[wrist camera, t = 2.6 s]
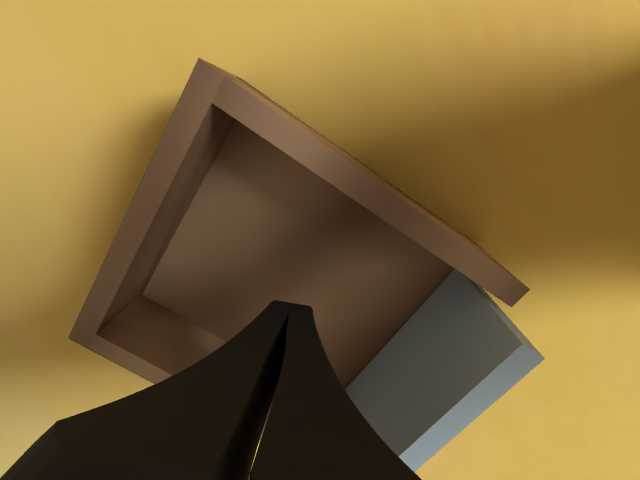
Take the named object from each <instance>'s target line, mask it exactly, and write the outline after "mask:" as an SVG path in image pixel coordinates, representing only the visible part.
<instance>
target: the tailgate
mask: <svg viewBox="0 0 640 480" xmlns="http://www.w3.org/2000/svg"><path fill="white" fill-rule="evenodd" d="M544 359H545V358H544V357H543V356H542V355H541V354H540V353H539V352H538V350H537V349H536V348H535V347H534V346H533V345H532V344H531V343H530V341H529V340H528V339H527V338H526V337H525V336H524V335H523V334H522V332H521V331H520V330H519V329H518V328H517V327H516V326H515V324H514V323H513V322H512V321H511V320H510V319H509V318H508V317H507V315H506V314H505V313H504V312H503V311H502V310H501V309H500V308H499V306H498V305H497V304H496V303H495V302H494V301H493V300H492V299H491V297H490V296H489V295H488V294H487V293H486V292H485V291H484V290H483V288H482V287H481V286H480V285H478V284H477V283H475V282H474V281H472V280H471V279H469V278H468V277H467V276H465V275H464V274H462V273H461V272H459V271H458V270H456V269H454V270H453V271H452V273H451V274H450V275H449V276H448V277H447V278H446V279H445V280H444V281H443V282H442V284H441V285H440V286H439V287H438V288H437V289H436V290H435V291H434V292H433V293H432V295H431V296H430V297H429V298H428V299H427V300H426V301H425V302H424V303H423V304H422V306H421V307H420V308H419V309H418V310H417V311H416V312H415V313H414V314H413V315H412V317H411V318H410V319H409V320H408V321H407V322H406V323H405V324H404V325H403V326H402V328H401V329H400V330H399V331H398V332H397V333H396V334H395V335H394V336H393V337H392V339H391V340H390V341H389V342H388V343H387V344H386V345H385V346H384V347H383V348H382V350H381V351H380V352H379V353H378V354H377V355H376V356H375V357H374V358H373V359H372V361H371V362H370V363H369V364H368V365H367V366H366V367H365V368H364V369H363V370H362V372H361V373H360V374H359V375H358V376H357V377H356V378H355V379H354V380H353V381H352V383H351V384H350V385H349V386H348V387H347V388H346V389H345V391H346V392H347V394H348V395H349V397H350V398H351V400H352V401H353V403H354V404H355V406H356V407H357V408H358V410H359V411H360V412H361V414H362V415H363V416H364V418H365V419H366V420H367V422H368V423H369V424H370V426H371V427H372V428H373V429H374V431H375V432H376V433H377V434H378V435H379V436H380V438H381V439H382V440H383V441H384V442H385V443H386V444H387V446H388V447H389V448H390V449H391V450H392V451H393V452H394V453H395V454H396V455H397V456H398V457H399V458H400V459H401V460H402V461H403V462H404V463H405V464H406V465H407V466H408V467H409V468H410V469H411V470H412V471H413V472H415V471H416V470H417V469H418V468H419V467H421V466H422V465H423V464H424V463H425V462H426V461H428V460H429V459H430V458H431V457H432V456H433V455H434V454H436V453H437V452H438V451H439V450H440V449H441V448H442V447H444V446H445V445H446V444H447V443H448V442H449V441H451V440H452V439H453V438H454V437H455V436H456V435H457V434H459V433H460V432H461V431H462V430H463V429H464V428H465V427H467V426H468V425H469V424H470V423H471V422H472V421H474V420H475V419H476V418H477V417H478V416H479V415H480V414H482V413H483V412H484V411H485V410H486V409H487V408H489V407H490V406H491V405H492V404H493V403H494V402H495V401H497V400H498V399H499V398H500V397H501V396H502V395H503V394H505V393H506V392H507V391H508V390H509V389H510V388H512V387H513V386H514V385H515V384H516V383H517V382H518V381H520V380H521V379H522V378H523V377H524V376H525V375H526V374H528V373H529V372H530V371H531V370H532V369H533V368H535V367H536V366H537V365H538V364H539V363H540V362H541V361H543V360H544Z"/></svg>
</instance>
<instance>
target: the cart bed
mask: <svg viewBox="0 0 640 480" xmlns="http://www.w3.org/2000/svg"><path fill="white" fill-rule="evenodd" d="M454 269H456V270H458V271H459V272H461V273H462V274H464V275H465V276H467V277H468V278H469V279H471V280H472V281H474V282H475V283H477V284H478V285H480V286H481V287H483V288H484V289H486V290H487V291H489V292H490V293H491V294H493V295H494V296H496V297H497V298H499V299H500V300H502V301H503V302H505V303H506V304H508V305H509V306H511V307H512V306H513V305H514V304H515V303H516V302H517V301H518V300H519V299H521V298H522V297H523V296H524V295H525V294H526V293H527V292H528V291H529V290H530V289H529V288H528V287H526V286H525V285H524V284H523V283H522V282H521V281H519V280H518V279H517V278H516V277H515V276H514V275H512V274H511V273H510V272H509V271H508V270H506V269H505V268H504V267H503V266H502V265H501V264H499V263H498V262H497V261H496V260H495V259H494V258H492V257H491V256H490V255H489V254H488V253H487V252H485V251H484V250H483V249H482V248H481V247H479V246H478V245H477V244H475V243H474V242H473V241H471V240H470V239H468V238H467V237H465V236H464V235H463V234H461V233H460V232H458V231H457V230H455V229H454V228H453V227H451V226H450V225H448V224H447V223H446V222H444V221H443V220H441V219H440V218H438V217H437V216H436V215H434V214H433V213H431V212H430V211H428V210H427V209H426V208H424V207H423V206H421V205H420V204H419V203H417V202H416V201H414V200H413V199H411V198H410V197H409V196H407V195H406V194H404V193H403V192H401V191H400V190H399V189H397V188H396V187H394V186H393V185H392V184H390V183H389V182H387V181H386V180H384V179H383V178H382V177H380V176H379V175H377V174H376V173H374V172H373V171H372V170H370V169H369V168H367V167H366V166H365V165H363V164H362V163H360V162H359V161H357V160H356V159H355V158H353V157H352V156H350V155H349V154H347V153H346V152H345V151H343V150H342V149H340V148H339V147H338V146H336V145H335V144H333V143H332V142H330V141H329V140H328V139H326V138H325V137H323V136H322V135H321V134H319V133H318V132H316V131H315V130H313V129H312V128H311V127H309V126H308V125H306V124H305V123H303V122H302V121H301V120H299V119H298V118H296V117H295V116H294V115H292V114H291V113H289V112H288V111H286V110H285V109H284V108H282V107H281V106H279V105H278V104H276V103H275V102H274V101H272V100H271V99H269V98H268V97H267V96H265V95H264V94H262V93H261V92H259V91H258V90H257V89H255V88H254V87H252V86H251V85H249V84H248V83H247V82H245V81H244V80H242V79H241V78H239V77H237V76H235V75H233V74H231V73H229V72H227V71H225V70H223V69H221V68H218V67H216V66H214V65H212V64H210V63H208V62H206V61H204V60H202V59H200V58H198V61H197V63H196V65H195V67H194V69H193V71H192V73H191V76H190V78H189V80H188V82H187V84H186V86H185V89H184V91H183V93H182V95H181V97H180V99H179V101H178V104H177V106H176V108H175V110H174V112H173V114H172V116H171V119H170V121H169V123H168V125H167V127H166V129H165V131H164V134H163V136H162V138H161V140H160V142H159V144H158V146H157V149H156V151H155V153H154V155H153V157H152V159H151V161H150V164H149V166H148V168H147V170H146V172H145V174H144V176H143V179H142V181H141V183H140V185H139V187H138V189H137V192H136V194H135V196H134V198H133V200H132V202H131V204H130V207H129V209H128V211H127V213H126V215H125V217H124V219H123V222H122V224H121V226H120V228H119V230H118V232H117V234H116V237H115V239H114V241H113V243H112V245H111V247H110V249H109V252H108V254H107V256H106V258H105V260H104V262H103V264H102V267H101V269H100V271H99V273H98V275H97V277H96V279H95V282H94V284H93V286H92V288H91V290H90V292H89V294H88V297H87V299H86V301H85V303H84V305H83V307H82V310H81V312H80V314H79V316H78V318H77V320H76V322H75V325H74V327H73V329H72V331H71V333H70V335H69V337H68V338H69V339H71V340H72V341H74V342H76V343H78V344H80V345H82V346H84V347H86V348H88V349H89V350H91V351H93V352H95V353H97V354H99V355H101V356H103V357H105V358H107V359H108V360H110V361H112V362H114V363H116V364H118V365H120V366H122V367H124V368H125V369H127V370H129V371H131V372H133V373H135V374H137V375H139V376H141V377H143V378H144V379H146V380H148V381H150V382H152V383H154V384H157V383H159V382H161V381H163V380H165V379H167V378H169V377H171V376H173V375H175V374H177V373H179V372H180V371H182V370H184V369H186V368H188V367H190V366H192V365H193V364H195V363H197V362H198V361H200V360H201V359H203V358H205V357H206V356H208V355H209V354H211V353H212V352H214V351H215V350H216V349H218V348H219V347H221V346H222V345H223V344H225V343H226V342H227V341H229V340H230V339H231V338H232V337H234V336H235V335H236V334H238V333H239V332H240V331H241V330H242V329H243V328H245V327H246V326H247V325H248V324H249V323H250V322H251V321H252V320H254V319H255V318H256V317H257V316H258V315H259V314H260V313H261V312H262V311H263V310H264V309H265V308H266V307H267V306H268V305H269V303H270V302H272V301H273V300H278V301H284V302H290V303H296V304H301V305H307V306H311V307H312V309H313V315H314V320H315V324H316V328H317V331H318V334H319V337H320V340H321V342H322V345H323V348H324V350H325V352H326V355H327V357H328V359H329V361H330V363H331V365H332V367H333V369H334V371H335V373H336V375H337V377H338V379H339V380H340V382H341V384H342V386H343V387H344V389H346V388H347V387H348V386H349V385H350V384H351V383H352V381H353V380H354V379H355V378H356V377H357V376H358V375H359V374H360V373H361V372H362V370H363V369H364V368H365V367H366V366H367V365H368V364H369V363H370V362H371V361H372V359H373V358H374V357H375V356H376V355H377V354H378V353H379V352H380V351H381V350H382V348H383V347H384V346H385V345H386V344H387V343H388V342H389V341H390V340H391V339H392V337H393V336H394V335H395V334H396V333H397V332H398V331H399V330H400V329H401V328H402V326H403V325H404V324H405V323H406V322H407V321H408V320H409V319H410V318H411V317H412V315H413V314H414V313H415V312H416V311H417V310H418V309H419V308H420V307H421V306H422V304H423V303H424V302H425V301H426V300H427V299H428V298H429V297H430V296H431V295H432V293H433V292H434V291H435V290H436V289H437V288H438V287H439V286H440V285H441V284H442V282H443V281H444V280H445V279H446V278H447V277H448V276H449V275H450V274H451V273H452V271H453V270H454ZM271 405H272V404H271ZM270 408H271V407H270ZM269 411H270V410H269ZM268 415H269V413H268ZM267 418H268V416H267ZM266 422H267V419H266ZM266 422H265V425H266ZM265 425H264V428H265ZM264 428H263V431H262V434H261V437H260V440H261V438H262V435H263V432H264Z"/></svg>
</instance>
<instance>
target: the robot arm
mask: <svg viewBox="0 0 640 480" xmlns="http://www.w3.org/2000/svg"><path fill="white" fill-rule="evenodd" d="M271 404H272V405H271ZM270 407H271V408H270ZM269 410H270V411H269ZM268 413H269V415H268ZM267 416H268V418H267ZM266 419H267V422H266ZM265 422H266V425H265ZM264 425H265V428H264ZM263 428H264V432H263V435H262V438H261V441H260V444H259V447H258V450H257V454H256V457H255V460H254V456H255V453H256V449H257V446H258V443H259V440H260V437H261V434H262V431H263ZM253 460H254V463H253ZM252 463H253V466H252ZM251 467H252V469H251ZM250 471H251V472H250ZM249 475H250V477H249ZM0 480H421V479H420V478H419V477H418V476H417V475H416V474H415V473H414V472H413V471H412V470H411V469H410V468H409V467H408V466H407V465H406V464H405V463H404V462H403V461H402V460H401V459H400V458H399V457H398V456H397V455H396V454H395V453H394V452H393V451H392V450H391V449H390V448H389V447H388V446H387V444H386V443H385V442H384V441H383V440H382V439H381V438H380V436H379V435H378V434H377V433H376V432H375V431H374V429H373V428H372V427H371V426H370V424H369V423H368V422H367V420H366V419H365V418H364V416H363V415H362V414H361V412H360V411H359V410H358V408H357V407H356V406H355V404H354V403H353V401H352V400H351V398H350V397H349V395H348V394H347V392H346V391H345V389H344V387H343V386H342V384H341V382H340V380H339V379H338V377H337V375H336V373H335V371H334V369H333V367H332V365H331V363H330V361H329V359H328V357H327V355H326V352H325V350H324V348H323V345H322V342H321V340H320V337H319V334H318V331H317V328H316V324H315V320H314V315H313V309H312V307H311V306H307V305H301V304H296V303H290V302H284V301H278V300H273V301H272V302H270V303H269V305H268V306H267V307H266V308H265V309H264V310H263V311H262V312H261V313H260V314H259V315H258V316H257V317H256V318H255V319H254V320H252V321H251V322H250V323H249V324H248V325H247V326H246V327H245V328H243V329H242V330H241V331H240V332H239V333H238V334H236V335H235V336H234V337H232V338H231V339H230V340H229V341H227V342H226V343H225V344H223V345H222V346H221V347H219V348H218V349H216V350H215V351H214V352H212V353H211V354H209V355H208V356H206V357H205V358H203V359H201V360H200V361H198V362H197V363H195V364H193V365H192V366H190V367H188V368H186V369H184V370H182V371H180V372H179V373H177V374H175V375H173V376H171V377H169V378H167V379H165V380H163V381H161V382H159V383H157V384H155V385H152V386H150V387H148V388H146V389H144V390H141V391H139V392H136V393H134V394H132V395H129V396H127V397H124V398H122V399H119V400H117V401H114V402H112V403H109V404H106V405H103V406H100V407H97V408H94V409H91V410H89V411H86V412H83V413H80V414H77V415H74V416H71V417H68V418H65V419H62V420H59V421H57V422H56V423H55V424H54V425H53V426H52V427H51V428H50V429H48V430H47V431H46V432H45V433H44V434H43V435H42V436H41V437H40V438H39V439H38V440H37V441H35V442H34V443H33V445H32V446H31V447H30V448H29V449H28V450H27V451H26V452H25V453H24V454H23V455H22V456H21V457H20V458H19V459H18V460H17V461H16V462H15V463H14V464H13V465H12V467H11V468H10V469H9V470H8V471H7V472H6V473H5V474H4V475H3V476H2V477H1V478H0Z"/></svg>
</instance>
